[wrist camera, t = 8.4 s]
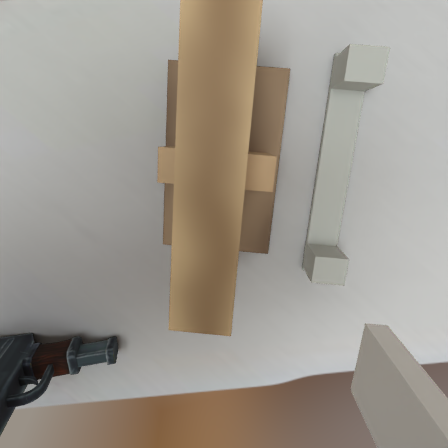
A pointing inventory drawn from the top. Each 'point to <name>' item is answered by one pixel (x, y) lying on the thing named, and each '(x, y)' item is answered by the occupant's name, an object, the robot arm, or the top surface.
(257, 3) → the bar
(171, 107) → the fulcrum
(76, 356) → the gun
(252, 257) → the top surface
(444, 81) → the top surface
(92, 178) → the top surface
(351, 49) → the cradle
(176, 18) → the top surface
